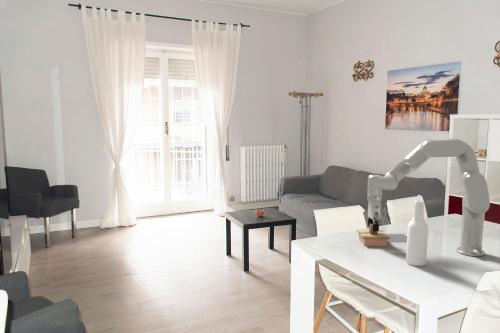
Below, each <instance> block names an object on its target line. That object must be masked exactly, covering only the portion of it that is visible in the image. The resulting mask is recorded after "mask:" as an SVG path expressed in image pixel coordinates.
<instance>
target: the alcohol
mask: <svg viewBox="0 0 500 333" xmlns="http://www.w3.org/2000/svg"><path fill="white" fill-rule="evenodd" d="M424 203H425V201H424V200H421V199H416V200H414V208H413V213H412V214H413V215H412V219H411V220H410V221H409V222H408V225H407V233H406V234H407V235H406V236H407V242H406V253H405V254H406V255H405V261H406V263H407V264H408V265H410V266H413V267H425V265H426V264H427V256H428V255H427V253H428V236H429V226H428V223H427V222H426V221H425V219H424V218H425V211H424V205H425V204H424Z"/></svg>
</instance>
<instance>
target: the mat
mask: <svg viewBox="0 0 500 333" xmlns="http://www.w3.org/2000/svg"><path fill="white" fill-rule="evenodd" d="M386 234H387V235H388V236H389V237H390V239H387V243H407V235H406V234H404V233H386Z"/></svg>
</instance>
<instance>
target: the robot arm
mask: <svg viewBox="0 0 500 333" xmlns="http://www.w3.org/2000/svg"><path fill="white" fill-rule="evenodd" d="M431 158H456V161H457V165H458V168H459V176H460V182H461V185H462V186H463V187H464V188H465V190H464V191H465V194H464V195H463V197H462V199H461V200H462V204H461V205H462V208H461V209H462V215H461V216H462V217H461V231H460V244H459V245H460V246H458V247H456V252H458V253H460V254H462V255H466V256H468V257H469V256H470V257H483V256H485V255H486V251H484V250H483V249H482V248H483V247H482V246H483V235H484V223H485V213H486V212H488V211H489V209H490V204H491V202H490V193H489V189H488V188H489V187H488V184H487V183H488V182H487V179H486V177H485V176H484V175H483V174H482V173H481V172H480V168H479V163H478V158H477V154H476V152H475V150H474V149H473V148H472V146H471V145H470V144H469V143H468V142H465V141H463V140H461V139H459V138H455V137H451V138H449V139H440V140H439V139H438V140H435V139H424V140H423V141H422V142H421V143H420V144H418V145H417V146H416V147H415V148H414V149H413V150H412V151H411V152H409V153H408V154H407V156H405V157H404V158H403V159H402V160H400V162H398V163H397V164H396V165H395V166H394V167H392V169H390V170H389V171H388V172H387V173H386V174H385V175H384V176H382V175H381V174H369V175H368V177H367V194H366V195H367V196H366V197H367V198H366V201H368V203H367V226H368V227H369V224H373V231H379V230H380V221H381V220H382V203H381V202H382V200H383V199H382V198H383V190H387V191H393V190H395V189H397V187H399V182H400V181H401V180H403V179H404V178H405V177H406V176H407V175H409V174H411V173H414V172H415V171H417V170H419V168H421V167H422V166H423V165H424V164H425V163H426V162H427V161H428V160H430V159H431Z"/></svg>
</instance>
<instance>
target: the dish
mask: <svg viewBox="0 0 500 333" xmlns="http://www.w3.org/2000/svg"><path fill="white" fill-rule="evenodd" d="M358 240H359V241H360V242H361V244H362V245H363V246H364V247H366V246H367V247H368V246H369V247H374V246H375V247H388V242H387V239H363V238H362V237H361V236H360V235H359V234H358Z"/></svg>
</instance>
